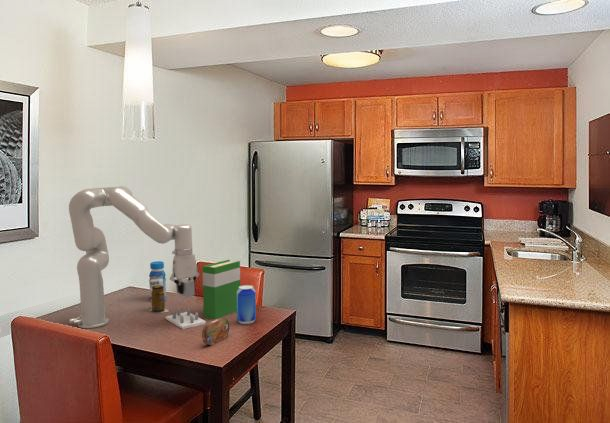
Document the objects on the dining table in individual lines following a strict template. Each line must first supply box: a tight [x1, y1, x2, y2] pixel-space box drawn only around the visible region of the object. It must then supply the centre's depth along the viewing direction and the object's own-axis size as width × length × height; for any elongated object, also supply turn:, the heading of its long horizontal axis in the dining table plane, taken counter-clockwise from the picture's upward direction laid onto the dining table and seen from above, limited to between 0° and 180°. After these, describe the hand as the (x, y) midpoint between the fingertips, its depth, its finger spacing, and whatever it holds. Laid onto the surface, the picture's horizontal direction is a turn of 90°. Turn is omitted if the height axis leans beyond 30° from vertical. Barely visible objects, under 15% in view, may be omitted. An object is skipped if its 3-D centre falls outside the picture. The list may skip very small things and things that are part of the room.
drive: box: [175, 278, 196, 298], centre depth 209 cm, size 4×10×6 cm, turn 39°
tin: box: [201, 317, 230, 346], centre depth 187 cm, size 15×3×8 cm, turn 153°
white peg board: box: [165, 307, 207, 330], centre depth 211 cm, size 11×18×4 cm, turn 39°
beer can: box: [236, 284, 257, 325], centre depth 210 cm, size 8×8×16 cm
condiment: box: [148, 285, 169, 314], centre depth 226 cm, size 7×8×12 cm
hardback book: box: [202, 259, 241, 320], centre depth 222 cm, size 18×7×24 cm, turn 147°
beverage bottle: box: [148, 260, 167, 302], centre depth 244 cm, size 8×8×20 cm
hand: (185, 292), depth 210 cm, fingers closed on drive, 4 cm apart
